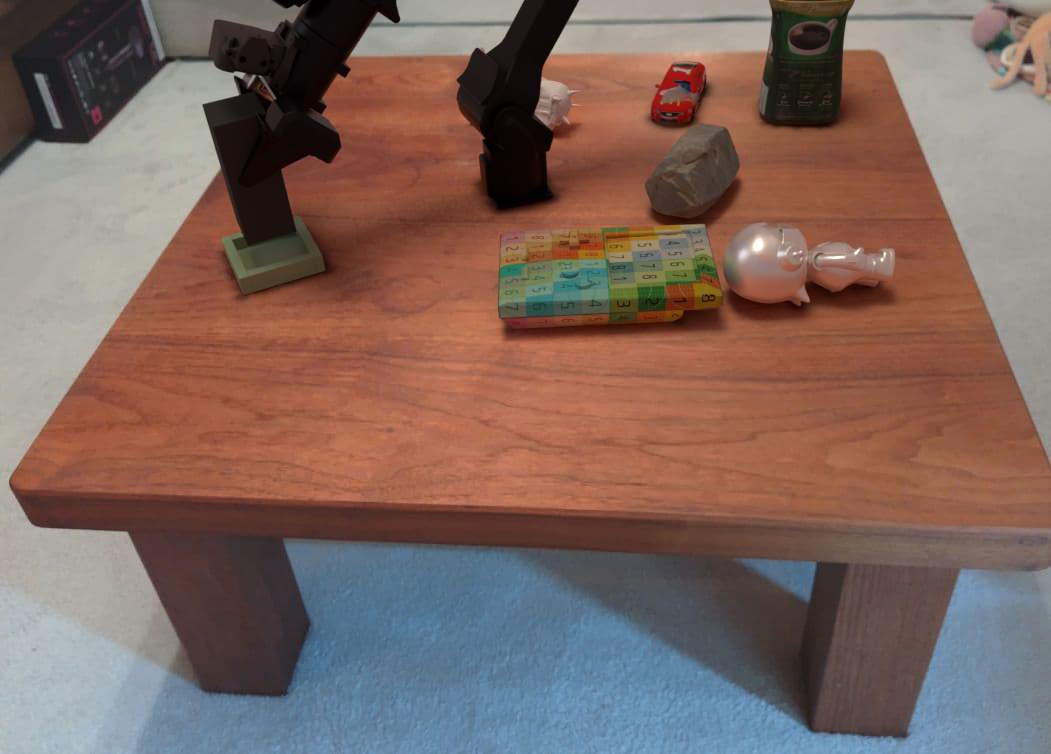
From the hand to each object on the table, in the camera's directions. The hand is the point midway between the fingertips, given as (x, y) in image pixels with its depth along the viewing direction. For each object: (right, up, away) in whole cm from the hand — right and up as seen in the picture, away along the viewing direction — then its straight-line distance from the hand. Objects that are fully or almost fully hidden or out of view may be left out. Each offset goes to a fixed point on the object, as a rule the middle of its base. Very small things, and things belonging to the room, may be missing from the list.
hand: (236, 173), depth 97 cm
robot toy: (+28, +12, +28) cm, 41 cm away
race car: (+47, +14, +29) cm, 57 cm away
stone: (+46, 0, +12) cm, 47 cm away
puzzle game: (+35, -12, 0) cm, 37 cm away
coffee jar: (+61, +12, +26) cm, 67 cm away
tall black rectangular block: (+2, -4, +5) cm, 7 cm away
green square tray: (+2, -8, +7) cm, 11 cm away
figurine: (+54, -12, -2) cm, 55 cm away
